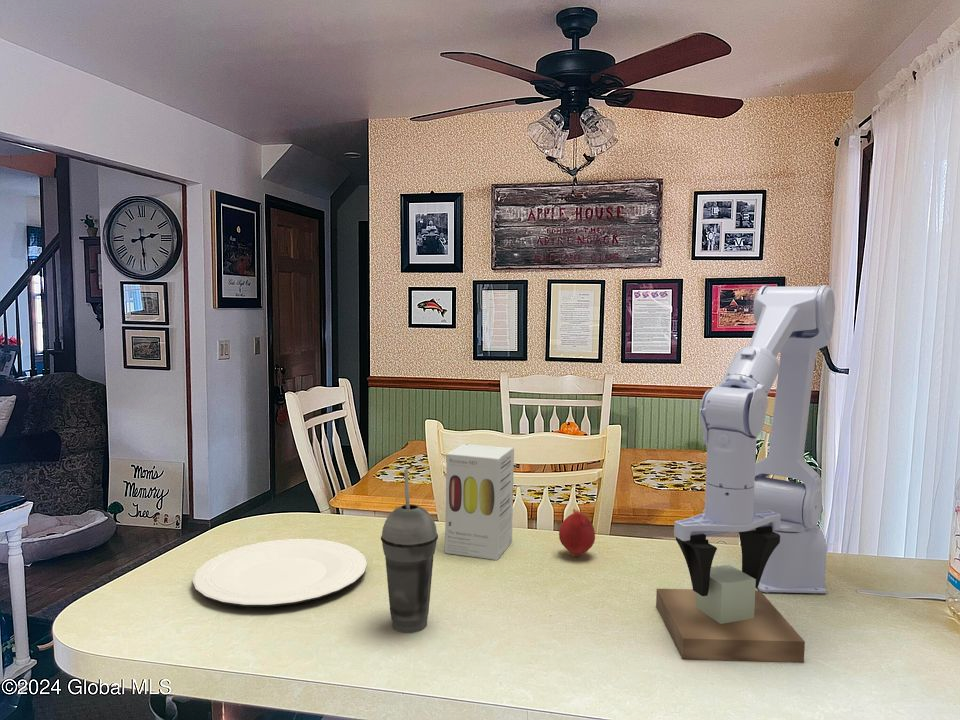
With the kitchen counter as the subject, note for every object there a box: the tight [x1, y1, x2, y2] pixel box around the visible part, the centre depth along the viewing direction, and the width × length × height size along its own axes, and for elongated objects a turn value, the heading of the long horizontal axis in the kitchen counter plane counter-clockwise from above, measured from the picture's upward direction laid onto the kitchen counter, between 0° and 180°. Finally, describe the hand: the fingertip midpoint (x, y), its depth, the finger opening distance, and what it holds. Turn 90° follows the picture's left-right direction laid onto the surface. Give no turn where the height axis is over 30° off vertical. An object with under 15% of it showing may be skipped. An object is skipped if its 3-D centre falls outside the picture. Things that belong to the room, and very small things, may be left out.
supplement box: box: [444, 442, 515, 561], centre depth 116 cm, size 10×9×17 cm
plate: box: [191, 538, 368, 607], centre depth 103 cm, size 25×25×2 cm
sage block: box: [695, 564, 756, 624], centre depth 87 cm, size 5×5×5 cm
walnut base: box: [655, 588, 806, 663], centre depth 87 cm, size 14×14×2 cm
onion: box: [558, 507, 596, 558], centre depth 113 cm, size 6×6×8 cm
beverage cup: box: [380, 469, 439, 634], centre depth 88 cm, size 7×7×20 cm
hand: (725, 589), depth 87 cm, fingers open, 7 cm apart
